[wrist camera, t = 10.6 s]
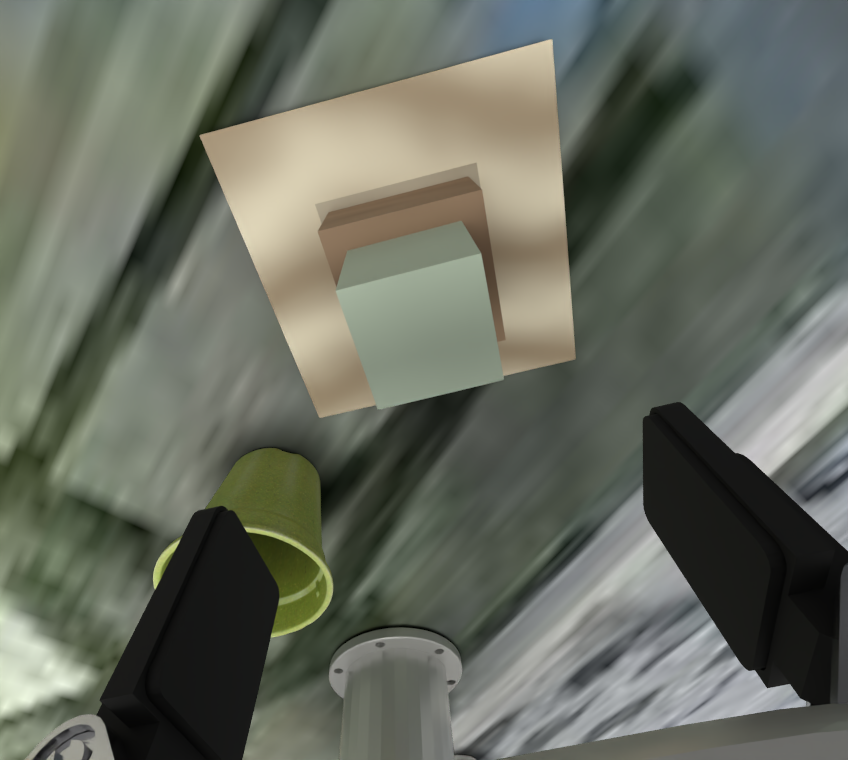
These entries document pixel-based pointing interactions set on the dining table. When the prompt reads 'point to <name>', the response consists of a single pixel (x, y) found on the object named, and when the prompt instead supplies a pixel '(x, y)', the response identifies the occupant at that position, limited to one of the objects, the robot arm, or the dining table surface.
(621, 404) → the dining table surface
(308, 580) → the plant pot
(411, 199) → the walnut base block
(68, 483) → the dining table surface
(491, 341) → the sage cube
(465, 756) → the lidded jar
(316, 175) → the plate
